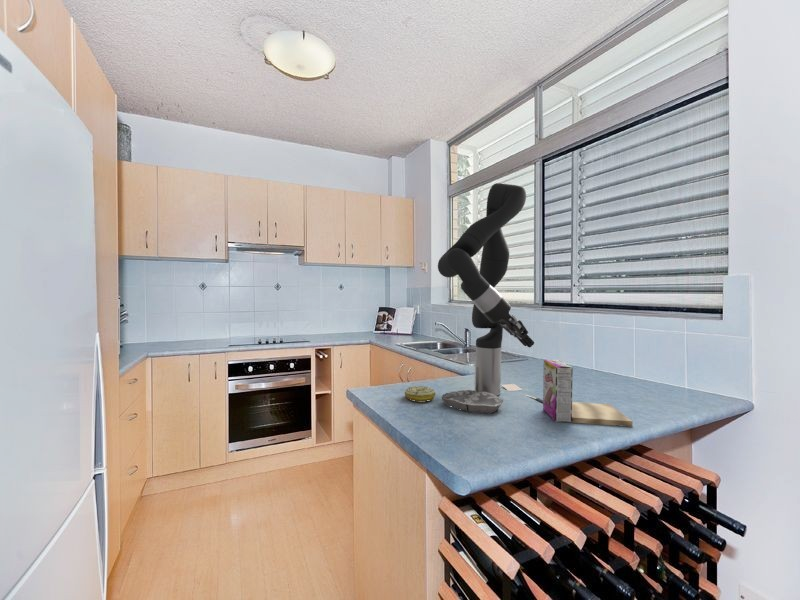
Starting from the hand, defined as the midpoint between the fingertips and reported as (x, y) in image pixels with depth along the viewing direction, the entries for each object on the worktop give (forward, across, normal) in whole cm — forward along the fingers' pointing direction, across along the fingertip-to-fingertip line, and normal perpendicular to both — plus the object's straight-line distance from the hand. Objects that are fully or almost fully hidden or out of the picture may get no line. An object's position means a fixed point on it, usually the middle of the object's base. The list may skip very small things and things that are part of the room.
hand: (529, 344), depth 111 cm
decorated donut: (-5, +21, +37) cm, 43 cm away
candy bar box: (+22, 0, +9) cm, 24 cm away
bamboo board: (+30, 0, +1) cm, 30 cm away
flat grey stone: (+6, +12, +25) cm, 29 cm away
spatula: (+24, +20, +8) cm, 32 cm away
